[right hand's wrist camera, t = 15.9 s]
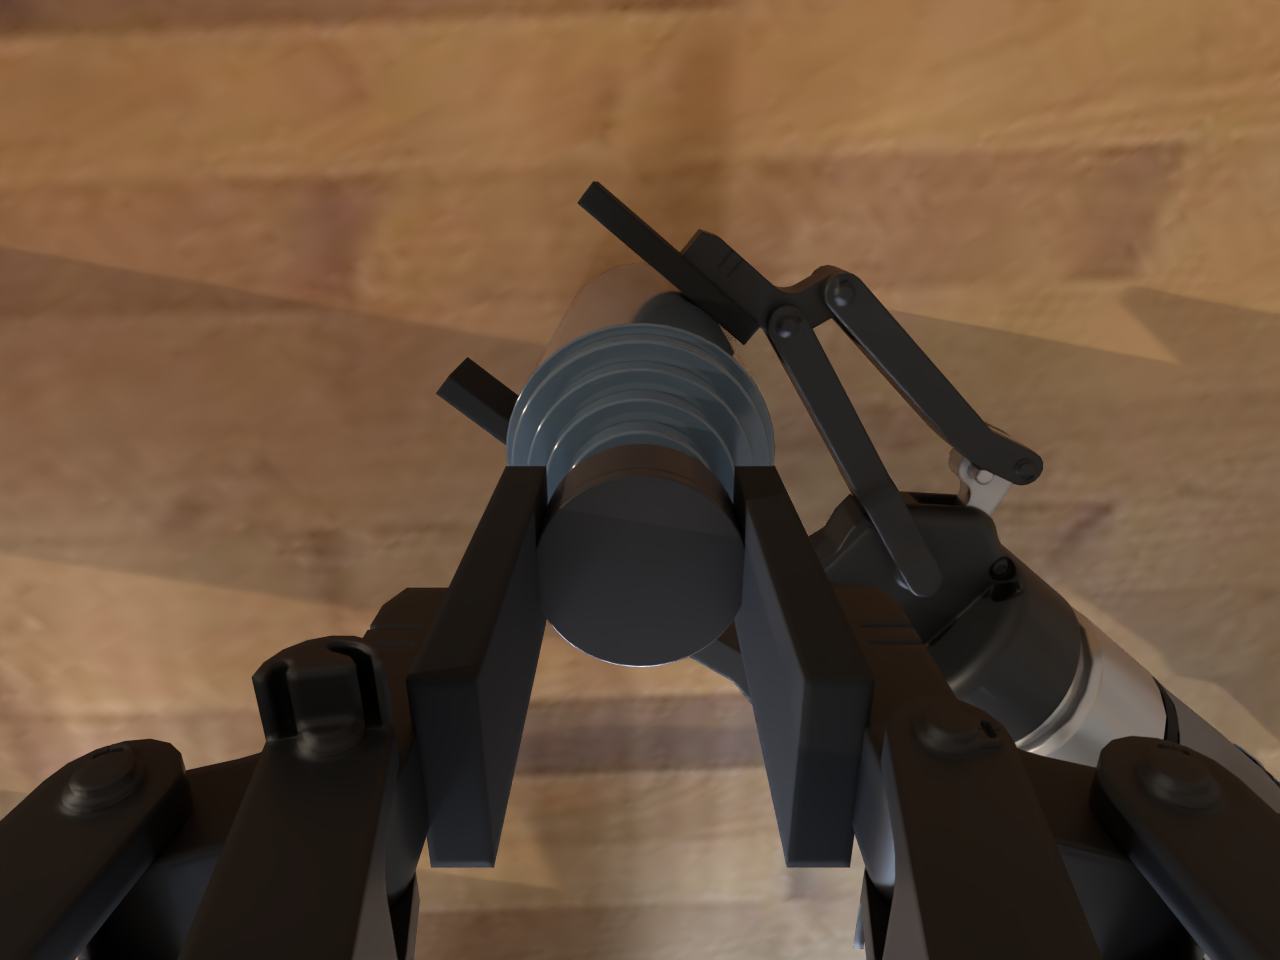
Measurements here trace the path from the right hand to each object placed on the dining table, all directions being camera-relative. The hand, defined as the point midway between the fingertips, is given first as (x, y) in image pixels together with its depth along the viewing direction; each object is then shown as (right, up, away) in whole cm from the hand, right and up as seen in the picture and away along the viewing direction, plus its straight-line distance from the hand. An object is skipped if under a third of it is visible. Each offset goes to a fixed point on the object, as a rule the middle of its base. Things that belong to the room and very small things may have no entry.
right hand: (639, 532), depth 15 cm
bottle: (0, +7, +17) cm, 18 cm away
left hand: (-4, +7, +9) cm, 12 cm away
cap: (0, 0, -1) cm, 1 cm away
